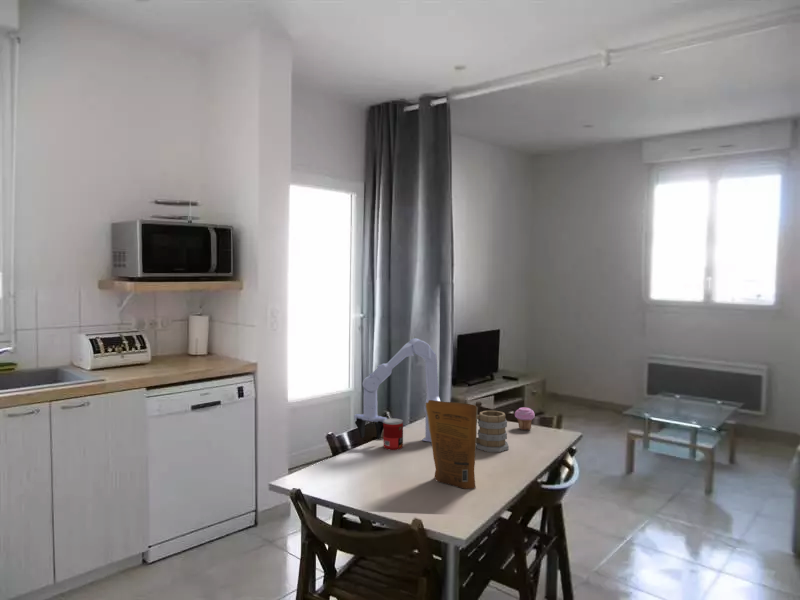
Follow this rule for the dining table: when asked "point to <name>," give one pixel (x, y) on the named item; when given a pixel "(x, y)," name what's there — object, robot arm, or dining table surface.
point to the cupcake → (524, 418)
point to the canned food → (393, 434)
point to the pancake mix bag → (453, 441)
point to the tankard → (492, 431)
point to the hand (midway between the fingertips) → (370, 438)
